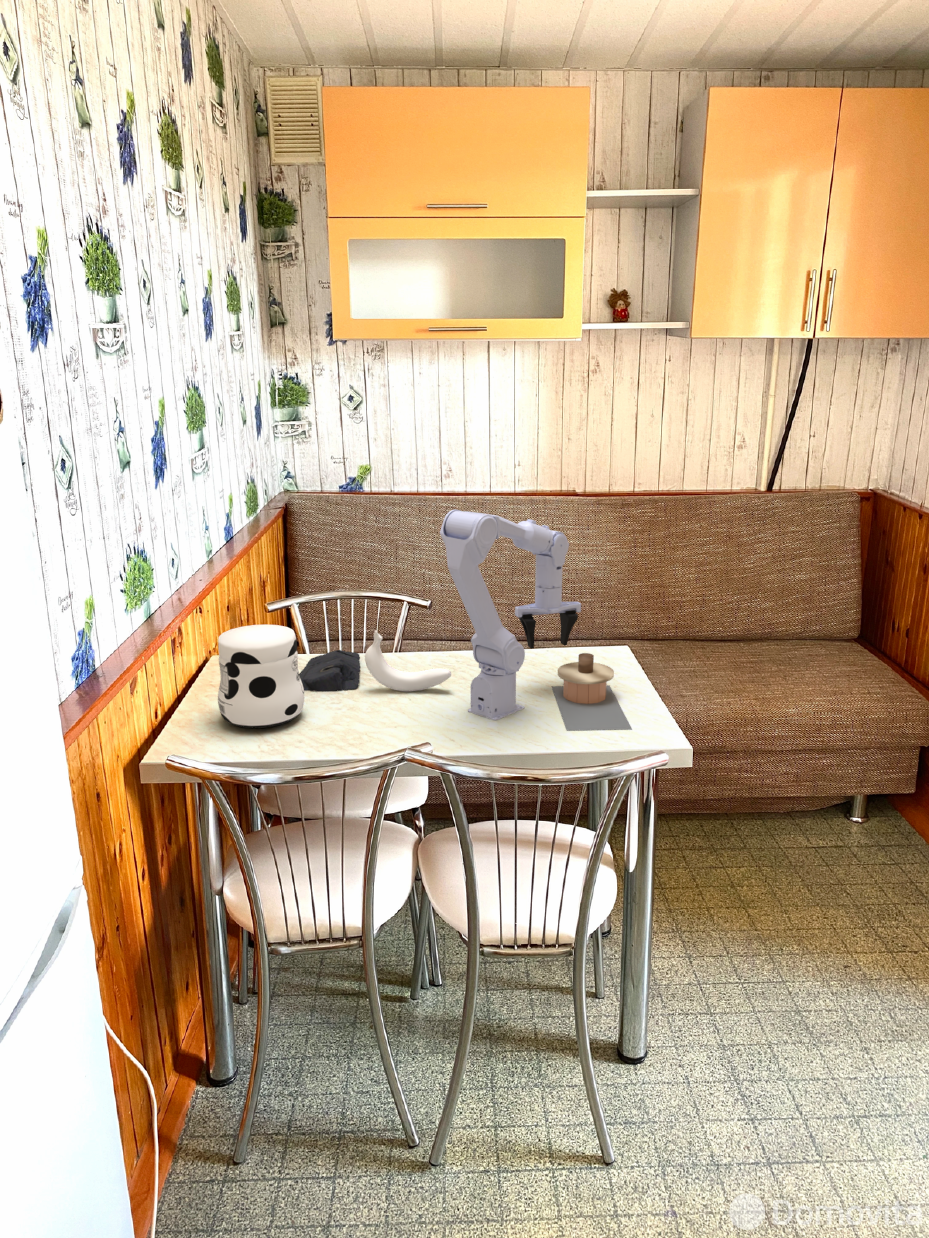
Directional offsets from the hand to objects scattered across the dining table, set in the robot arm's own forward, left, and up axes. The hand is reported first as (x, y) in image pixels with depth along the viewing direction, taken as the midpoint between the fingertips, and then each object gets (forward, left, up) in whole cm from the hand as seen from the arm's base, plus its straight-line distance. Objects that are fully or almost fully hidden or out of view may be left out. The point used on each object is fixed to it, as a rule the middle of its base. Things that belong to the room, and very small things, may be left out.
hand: (547, 645), depth 203 cm
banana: (-21, +22, -11) cm, 32 cm away
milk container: (-52, +33, -11) cm, 62 cm away
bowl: (+2, -9, -10) cm, 14 cm away
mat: (-2, -13, -10) cm, 17 cm away
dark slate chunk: (-26, +44, -11) cm, 52 cm away
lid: (+2, -9, -5) cm, 10 cm away
